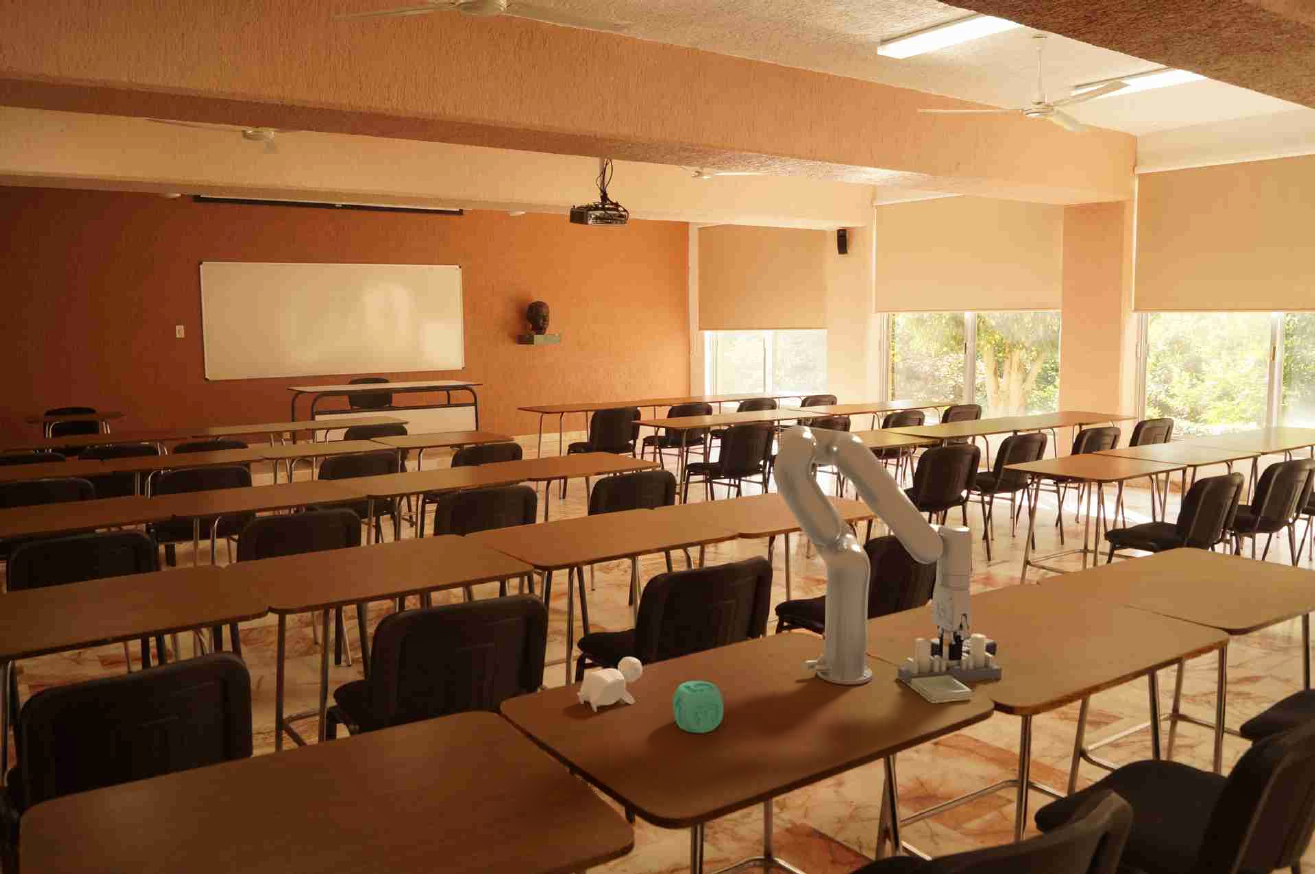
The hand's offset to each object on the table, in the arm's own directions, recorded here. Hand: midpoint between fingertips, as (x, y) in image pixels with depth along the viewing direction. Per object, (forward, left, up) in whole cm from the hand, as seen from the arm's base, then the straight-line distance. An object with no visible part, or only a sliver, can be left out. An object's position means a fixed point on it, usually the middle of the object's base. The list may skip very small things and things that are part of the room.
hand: (950, 656), depth 225 cm
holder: (0, 0, -5) cm, 5 cm away
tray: (-7, -8, -5) cm, 12 cm away
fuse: (0, 0, -3) cm, 3 cm away
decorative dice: (-64, -12, -6) cm, 65 cm away
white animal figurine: (-78, +5, -6) cm, 79 cm away
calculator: (+11, +14, -6) cm, 19 cm away
